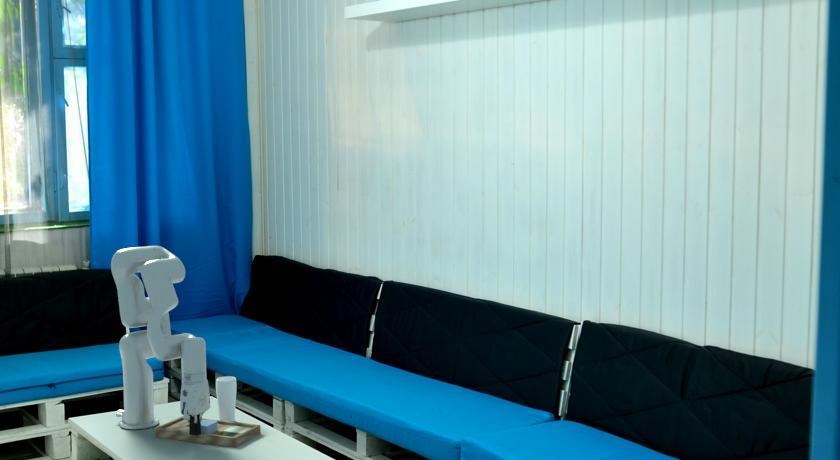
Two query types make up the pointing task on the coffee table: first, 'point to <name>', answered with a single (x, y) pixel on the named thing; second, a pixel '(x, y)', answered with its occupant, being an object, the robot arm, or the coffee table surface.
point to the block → (209, 426)
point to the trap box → (224, 436)
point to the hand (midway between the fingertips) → (195, 434)
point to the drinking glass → (226, 397)
